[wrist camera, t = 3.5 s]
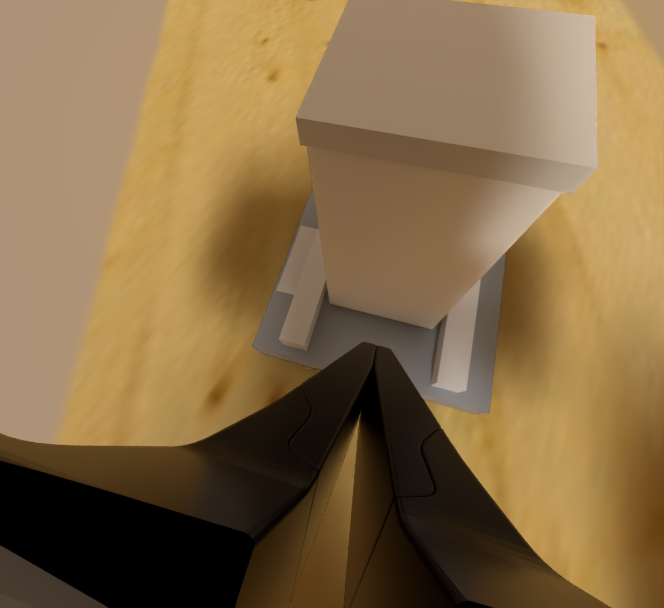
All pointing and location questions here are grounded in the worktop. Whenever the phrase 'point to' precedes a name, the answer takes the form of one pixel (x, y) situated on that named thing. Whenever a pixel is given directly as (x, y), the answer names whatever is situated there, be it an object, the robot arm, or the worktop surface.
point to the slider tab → (442, 144)
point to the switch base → (384, 328)
